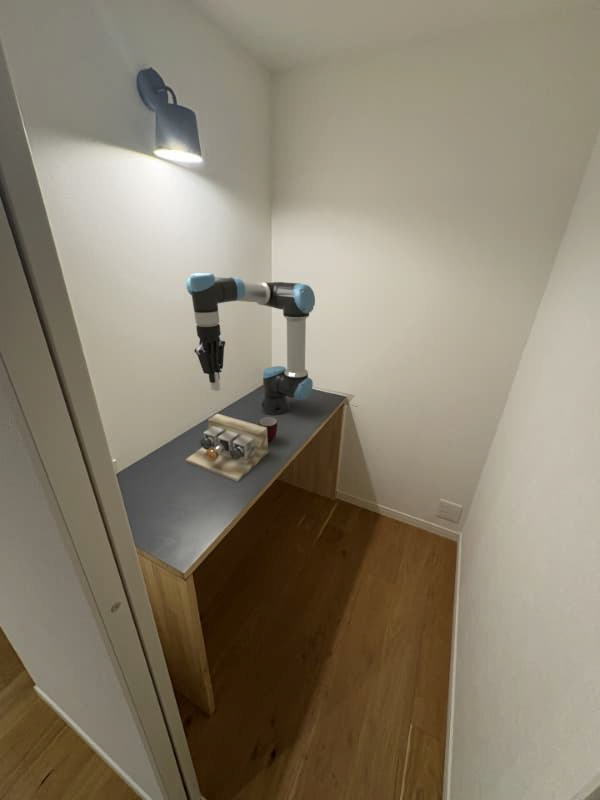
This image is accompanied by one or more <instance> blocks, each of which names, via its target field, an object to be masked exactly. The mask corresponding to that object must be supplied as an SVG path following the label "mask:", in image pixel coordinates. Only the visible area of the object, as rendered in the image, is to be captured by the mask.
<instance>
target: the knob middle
mask: <svg viewBox="0 0 600 800" xmlns="http://www.w3.org/2000/svg"><path fill="white" fill-rule="evenodd" d="M228 448H229V445H228V443H227V442H225V441H222V442H221V443H220V444H218V445H217V446H216V447H215V448H213V449H209V450H208V451H207V452H206V457H207V458H208V459H209V460H210V461H212V462H214V461H215V460H217V459H218V456H219V455H220V454H222V453H223V452H224V451H225V450H227V449H228Z"/></svg>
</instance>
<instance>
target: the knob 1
mask: <svg viewBox="0 0 600 800" xmlns="http://www.w3.org/2000/svg"><path fill="white" fill-rule="evenodd" d="M199 444H200V445H201V448H202V447H203V448H204V449H206V450H208V449H209V448H211V447H212V444H214V437H212V436H209V437H207V438H206V437H205V438H202V439H200V443H199Z"/></svg>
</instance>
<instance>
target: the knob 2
mask: <svg viewBox="0 0 600 800" xmlns="http://www.w3.org/2000/svg"><path fill="white" fill-rule="evenodd" d="M243 453H244V447H243V446H237V447H234V448H232V449H231V450H230V456H231V457H232V458H233V459H234V460H239V459H240V458H241V457H242V454H243Z"/></svg>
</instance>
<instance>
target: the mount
mask: <svg viewBox="0 0 600 800" xmlns="http://www.w3.org/2000/svg"><path fill="white" fill-rule="evenodd" d="M207 421H208V422H207V423H208V428H207V429H206V430H205V431H204V432H203V437H204V438H205V437H206V438H207V437H209V436H212V437H214V444H212V447H211V448H209V449H213V448H215V447H216V446H217V445H218V444H220V443H221V442H222V441H225V442H227V443H228V445H229V448H228V449H227V450H225V451H224V452H223V453H222V454H220V455H219V456H218V459H217V460H215V461H214V462H212V461H210V460H209V459H208V458H207V457H206V452H207V451H208V450H209V449H208V450H206V449H204V448H203V447H202V446H201V448H199V449H198V450H196V451H195V452H194V453H192V454H191V455H190V456H188V457H186V459H185V462H186V463H188V464H191V465H194V466H196V467H199V468H201V469H204V470H206V471H209V472H212V473H214V474H217V475H219V476H221V477H225V478H227V479H230V480H232V481H235V482H239V481H240V480H242V478H243V477H245V475H246V474H248V473H249V471H251V470H252V469H253V468H254V467H255V465H257V464H259V462H260V461H261V460H262V459H263V458H264V457H265V456H266V455H267V454H269V446H268V445H269V443H268V439H267V428H266V427H263V426H259V424H255V423H251V422H249V421H245V420H241V419H237V418H233V417H230V416H227V415H224V414H220V413H216V414H214V415H213V416H211V417H209V418H208V419H207ZM237 446H243V447H244V453H243V454H242V457H241V458H240V459H239V460H234V459H233V458H232V457H231V456H230V450H231V449H232V448H234V447H237Z"/></svg>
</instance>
